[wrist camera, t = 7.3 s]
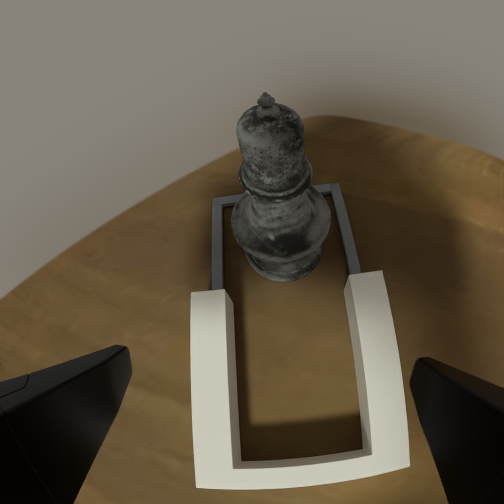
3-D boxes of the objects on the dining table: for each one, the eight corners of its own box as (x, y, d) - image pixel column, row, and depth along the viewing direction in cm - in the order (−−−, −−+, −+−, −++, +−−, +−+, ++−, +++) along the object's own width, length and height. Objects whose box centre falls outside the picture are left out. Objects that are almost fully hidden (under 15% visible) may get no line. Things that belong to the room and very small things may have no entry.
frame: (360, 278, 19) (361, 275, 19) (213, 295, 20) (211, 292, 20) (338, 186, 23) (338, 182, 23) (213, 201, 24) (212, 198, 24)
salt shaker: (279, 197, 23) (260, 50, 13) (344, 240, 21) (370, 88, 10) (223, 250, 22) (161, 109, 11) (287, 304, 19) (271, 170, 9)
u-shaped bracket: (396, 459, 14) (409, 466, 11) (209, 478, 15) (196, 487, 13) (373, 286, 19) (381, 270, 17) (203, 305, 20) (191, 292, 18)
